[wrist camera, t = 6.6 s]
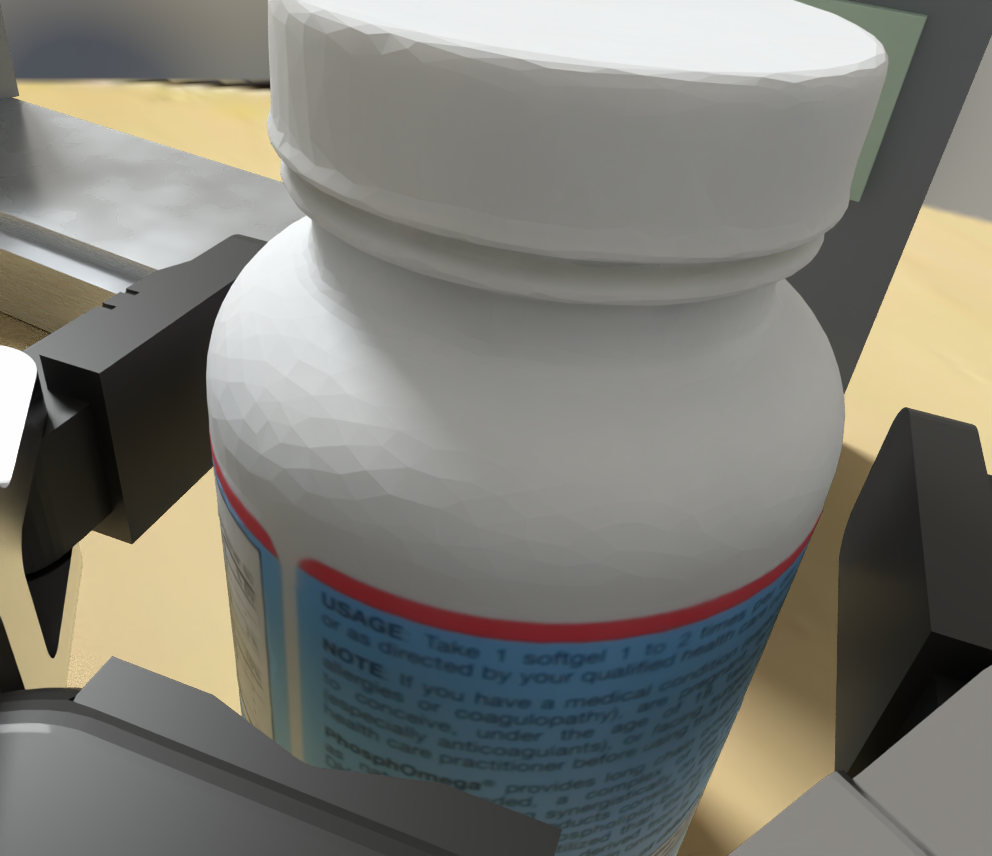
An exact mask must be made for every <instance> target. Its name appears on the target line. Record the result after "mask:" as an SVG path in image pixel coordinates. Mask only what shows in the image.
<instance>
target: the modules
mask: <svg viewBox="0 0 992 856" xmlns="http://www.w3.org/2000/svg"><path fill="white" fill-rule="evenodd" d="M794 1H797V2H800V3H803V4H806V5H809V6H812V7H815V8H818V9H821V10H824V11H827V12H830V13H833V14H835V15H838V16H840V17H842V18H844V19H846V20H848V21H850V22H852V23H854V24H856V25H858V26H859V27H861V28H862V29H864V30H865V31H867V32H869V33H870V34H872V35H873V36H875V37H876V38H877V40H878V41H879V42H880V43H881V44H882V45H883V47H884V49H885V51H886V53H887V55H888V69H887V75H886V78H885V82H884V85H883V88H882V91H881V94H880V97H879V101H878V104H877V107H876V110H875V113H874V116H873V119H872V122H871V125H870V128H869V130H868V133H867V136H866V139H865V141H864V144H863V147H862V150H861V152H860V155H859V158H858V161H857V165H856V168H855V172H854V175H853V179H852V183H851V187H850V199H849V204H848V208H847V210H846V211H845V213H844V215H843V216H842V218H841V219H840V221H839V222H838V223H837V224H836V225H835V226H834V227H833V228H831V229H830V230H828V231H827V232H826V233H825V234H824V241H823V243H822V245H821V247H820V249H819V251H818V253H817V254H816V256H815V257H814V258H813V259H812V261H811V262H809V263H808V264H807V265H806V266H804V267H803V268H802V269H800V270H799V271H797V272H796V273H795V274H793V275H792V276H790V277H787V278H785V279H786V280H787V281H788V283H789V284H790V285H791V286H792V287H793V288H794V289H795V290H796V291H797V292H798V293H799V294H800V295H801V297H802V298H803V299H804V301H805V302H806V303H807V305H808V306H809V307H810V309H811V310H812V312H813V313H814V315H815V317H816V318H817V320H818V322H819V324H820V325H821V327H822V329H823V331H824V332H825V334H826V336H827V338H828V340H829V343H830V345H831V347H832V350H833V353H834V356H835V359H836V362H837V365H838V368H839V372H840V376H841V381H842V387H843V392H844V394H845V391H846V389H847V386H848V384H849V381H850V379H851V377H852V374H853V372H854V369H855V367H856V364H857V362H858V360H859V357H860V355H861V352H862V350H863V347H864V345H865V342H866V340H867V338H868V335H869V333H870V330H871V328H872V325H873V323H874V321H875V318H876V316H877V313H878V311H879V308H880V306H881V304H882V301H883V299H884V296H885V294H886V291H887V289H888V286H889V284H890V282H891V279H892V277H893V274H894V272H895V269H896V267H897V265H898V262H899V260H900V257H901V255H902V252H903V250H904V247H905V245H906V243H907V240H908V238H909V235H910V233H911V230H912V228H913V226H914V223H915V221H916V218H917V216H918V213H919V211H920V208H921V206H922V204H923V201H924V199H925V196H926V194H927V191H928V189H929V186H930V184H931V182H932V179H933V176H934V174H935V172H936V169H937V167H938V165H939V162H940V159H941V157H942V155H943V152H944V150H945V148H946V145H947V143H948V140H949V138H950V135H951V133H952V130H953V128H954V126H955V123H956V121H957V118H958V116H959V113H960V111H961V109H962V106H963V104H964V101H965V99H966V96H967V94H968V92H969V89H970V86H971V84H972V82H973V79H974V77H975V74H976V72H977V70H978V67H979V65H980V62H981V60H982V57H983V55H984V52H985V50H986V48H987V45H988V43H989V40H990V38H991V35H992V0H794ZM16 96H19V93H18V88H17V83H16V79H15V74H14V69H13V64H12V59H11V54H10V50H9V45H8V40H7V36H6V30H5V26H4V21H3V16H2V11H1V6H0V100H2V99H7V98H11V97H16Z"/></svg>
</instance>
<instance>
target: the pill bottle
mask: <svg viewBox="0 0 992 856" xmlns="http://www.w3.org/2000/svg"><path fill="white" fill-rule="evenodd" d="M268 41H269V63H270V86H271V109H270V112H269V116H268V120H267V129H268V135H269V138H270V142H271V144H272V146H273V148H274V149H275V151H276V153H277V154H278V156H279V157H280V158H281V177H282V180H283V183H284V185H285V187H286V189H287V191H288V193H289V195H290V196H291V198H292V199H293V201H294V202H295V204H296V205H297V207H298V208H299V209H300V210H301V211H302V212H303V213H304V214H306V215H307V216H305V217H303V218H301V219H300V220H298V221H296V222H294V223H293V224H291V225H289V226H288V227H287V228H285V229H284V230H283V231H282V232H280V233H279V234H278V235H276V236H275V237H274V238H272V239H271V240H270V241H269V242H268V243H267V244H266V245H265V246H264V247H263V248H262V249H261V250H260V251H259V252H258V253H257V254H256V255H255V256H254V257H253V258H252V259H251V260H250V262H249V263H248V264H247V265H246V266H245V267H244V268H243V270H242V271H241V273H240V274H239V276H238V277H237V279H236V280H235V282H234V283H233V284H232V286H231V288H230V290H229V292H228V293H227V295H226V297H225V299H224V301H223V303H222V305H221V308H220V310H219V312H218V315H217V317H216V320H215V323H214V327H213V330H212V335H211V339H210V344H209V350H208V355H207V370H206V385H207V404H208V414H209V433H210V442H211V450H212V460H213V466H214V475H215V484H216V493H217V501H218V515H219V518H220V526H221V534H222V543H223V552H224V561H225V570H226V578H227V587H228V596H229V606H230V615H231V624H232V633H233V642H234V650H235V658H236V668H237V679H238V685H239V696H240V704H241V713H242V717H243V718H244V719H246V720H247V721H248V722H249V723H251V724H252V725H253V726H255V727H256V728H257V729H259V730H260V731H261V732H263V733H264V734H265V735H267V736H268V737H269V738H271V739H272V740H273V741H275V742H276V743H277V744H279V745H280V746H281V747H283V748H284V749H285V750H287V751H288V752H289V753H291V754H292V755H293V756H295V757H296V758H297V759H299V760H301V761H302V762H304V763H306V764H309V765H311V766H315V767H320V768H328V769H336V770H344V771H351V772H359V773H367V774H375V775H383V776H391V777H399V778H407V779H415V780H423V781H431V782H439V783H443V784H446V785H448V786H451V787H454V788H456V789H459V790H461V791H464V792H467V793H469V794H472V795H474V796H477V797H480V798H482V799H485V800H487V801H490V802H493V803H495V804H498V805H500V806H503V807H506V808H508V809H511V810H513V811H516V812H519V813H521V814H524V815H526V816H529V817H532V818H534V819H537V820H539V821H542V822H545V823H547V824H550V825H552V826H555V827H558V828H560V829H562V831H561V835H560V838H559V842H558V846H557V849H556V853H555V856H676V855H677V853H678V851H679V848H680V846H681V844H682V842H683V840H684V837H685V835H686V832H687V830H688V827H689V825H690V822H691V820H692V818H693V815H694V813H695V811H696V808H697V806H698V804H699V801H700V799H701V797H702V795H703V792H704V790H705V787H706V785H707V783H708V781H709V778H710V776H711V774H712V771H713V769H714V767H715V764H716V762H717V760H718V757H719V755H720V752H721V750H722V748H723V746H724V743H725V741H726V739H727V737H728V734H729V732H730V730H731V727H732V725H733V723H734V720H735V718H736V716H737V713H738V711H739V709H740V707H741V704H742V701H743V698H744V695H745V693H746V691H747V688H748V686H749V683H750V681H751V679H752V676H753V674H754V672H755V669H756V667H757V665H758V662H759V660H760V658H761V655H762V653H763V651H764V648H765V646H766V644H767V641H768V639H769V636H770V634H771V631H772V629H773V626H774V624H775V621H776V619H777V616H778V614H779V612H780V609H781V607H782V605H783V602H784V600H785V598H786V595H787V593H788V591H789V588H790V586H791V584H792V581H793V579H794V577H795V574H796V572H797V569H798V567H799V565H800V562H801V560H802V557H803V555H804V553H805V550H806V548H807V545H808V543H809V541H810V538H811V536H812V534H813V531H814V529H815V527H816V525H817V523H818V521H819V518H820V516H821V514H822V512H823V507H824V503H825V500H826V497H827V495H828V492H829V489H830V487H831V484H832V481H833V478H834V476H835V473H836V470H837V466H838V462H839V458H840V454H841V450H842V442H843V432H844V422H845V404H844V392H843V387H842V381H841V376H840V372H839V368H838V365H837V362H836V359H835V356H834V353H833V350H832V347H831V345H830V343H829V340H828V338H827V336H826V334H825V332H824V331H823V329H822V327H821V325H820V324H819V322H818V320H817V318H816V317H815V315H814V313H813V312H812V310H811V309H810V307H809V306H808V305H807V303H806V302H805V301H804V299H803V298H802V297H801V295H800V294H799V293H798V292H797V291H796V290H795V289H794V288H793V287H792V286H791V285H790V284H789V283H788V281H787V280H786V279H785V278H787V277H790V276H792V275H793V274H795V273H796V272H797V271H799V270H800V269H802V268H803V267H804V266H806V265H807V264H808V263H809V262H811V261H812V259H813V258H814V257H815V256H816V254H817V253H818V251H819V249H820V247H821V245H822V243H823V241H824V234H825V233H826V232H827V231H828V230H830V229H831V228H833V227H834V226H835V225H836V224H837V223H838V222H839V221H840V219H841V218H842V216H843V215H844V213H845V211H846V210H847V208H848V204H849V199H850V187H851V183H852V179H853V175H854V172H855V168H856V165H857V161H858V158H859V155H860V152H861V150H862V147H863V144H864V141H865V139H866V136H867V133H868V130H869V128H870V125H871V122H872V119H873V116H874V113H875V110H876V107H877V104H878V101H879V97H880V94H881V91H882V88H883V85H884V82H885V78H886V75H887V69H888V55H887V53H886V51H885V49H884V47H883V45H882V44H881V43H880V42H879V41H878V40H877V38H876V37H875V36H873V35H872V34H870V33H869V32H867V31H865V30H864V29H862V28H861V27H859V26H858V25H856V24H854V23H852V22H850V21H848V20H846V19H844V18H842V17H840V16H838V15H835V14H833V13H830V12H827V11H824V10H821V9H818V8H815V7H812V6H809V5H806V4H803V3H800V2H797V1H794V0H268Z"/></svg>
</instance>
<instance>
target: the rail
mask: <svg viewBox="0 0 992 856" xmlns="http://www.w3.org/2000/svg"><path fill="white" fill-rule="evenodd" d="M305 216H307V215H306V214H304V213H303V212H302V211H301V210H300V209H299V208H298V207H297V205H296V204H295V202H294V201H293V199H292V198H291V196H290V195H289V193H288V191H287V189H286V187H285V185H284V183H282V182H279V181H276V180H273V179H270V178H266V177H263V176H260V175H257V174H254V173H251V172H247V171H244V170H241V169H238V168H235V167H231V166H228V165H225V164H222V163H219V162H215V161H212V160H209V159H206V158H203V157H200V156H196V155H193V154H190V153H187V152H184V151H180V150H177V149H174V148H171V147H168V146H164V145H161V144H158V143H155V142H152V141H149V140H145V139H142V138H139V137H136V136H133V135H129V134H126V133H123V132H120V131H117V130H114V129H110V128H107V127H104V126H101V125H98V124H94V123H91V122H88V121H85V120H82V119H78V118H75V117H72V116H69V115H66V114H63V113H59V112H56V111H53V110H50V109H47V108H43V107H40V106H37V105H34V104H31V103H27V102H24V101H21V100H18V99H15V98H12V97H11V98H7V99H2V100H0V311H1V312H3V313H6V314H8V315H10V316H13V317H15V318H17V319H20V320H22V321H24V322H27V323H29V324H31V325H34V326H36V327H38V328H41V329H43V330H46V331H48V332H50V333H53V332H55V331H56V330H58V329H60V328H61V327H63V326H65V325H66V324H68V323H69V322H71V321H73V320H74V319H76V318H78V317H79V316H81V315H83V314H84V313H86V312H88V311H89V310H91V309H93V308H94V307H96V306H98V307H102V305H103V302H104V301H106V300H108V299H109V298H111V297H113V296H114V295H116V294H118V293H119V292H123V293H125V292H126V288H127V287H129V286H131V285H132V284H134V283H136V282H137V281H139V280H141V279H142V278H144V277H146V276H147V275H149V274H151V273H152V272H154V271H157V270H160V269H164V268H167V267H170V266H174V265H177V264H181V263H184V262H187V261H191V260H193V259H194V258H196V257H198V256H199V255H201V254H202V253H204V252H206V251H207V250H209V249H210V248H212V247H214V246H215V245H217V244H218V243H220V242H222V241H223V240H225V239H227V238H228V237H230V236H232V235H235V234H240V235H244V236H248V237H252V238H256V239H260V240H264V241H268V242H269V241H270V240H271V239H272V238H274V237H275V236H276V235H278V234H279V233H280V232H282V231H283V230H284V229H285V228H287V227H288V226H289V225H291V224H293V223H294V222H296V221H298V220H300V219H301V218H303V217H305Z"/></svg>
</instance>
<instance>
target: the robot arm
mask: <svg viewBox="0 0 992 856" xmlns="http://www.w3.org/2000/svg"><path fill="white" fill-rule="evenodd" d="M267 243H268V241H264V240H260V239H256V238H252V237H248V236H244V235H240V234H235V235H232V236H230V237H228V238H227V239H225V240H223V241H222V242H220V243H218V244H217V245H215V246H214V247H212V248H210V249H209V250H207V251H206V252H204V253H202V254H201V255H199V256H198V257H196V258H194V259H193V260H191V261H187V262H184V263H181V264H177V265H174V266H170V267H167V268H164V269H160V270H157V271H154V272H152V273H151V274H149V275H147V276H146V277H144V278H142V279H141V280H139V281H137V282H136V283H134V284H132V285H131V286H129V287H127V288H126V292H125V293H123V292H119V293H118V294H116V295H114V296H113V297H111V298H109V299H108V300H106V301H104V302H103V305H102V307H98V306H96V307H94V308H93V309H91V310H89V311H88V312H86V313H84V314H83V315H81V316H79V317H78V318H76V319H74V320H73V321H71V322H69V323H68V324H66V325H65V326H63V327H61V328H60V329H58V330H56V331H55V332H53V333H51V334H50V335H48V336H46V337H45V338H43V339H41V340H40V341H38V342H36V343H35V344H33V345H31V346H30V347H28V348H26V349H25V350H23V351H20V350H17V349H14V348H11V347H7V346H1V345H0V856H555V853H556V849H557V846H558V842H559V838H560V835H561V831H562V829H560V828H558V827H555V826H552V825H550V824H547V823H545V822H542V821H539V820H537V819H534V818H532V817H529V816H526V815H524V814H521V813H519V812H516V811H513V810H511V809H508V808H506V807H503V806H500V805H498V804H495V803H493V802H490V801H487V800H485V799H482V798H480V797H477V796H474V795H472V794H469V793H467V792H464V791H461V790H459V789H456V788H454V787H451V786H448V785H446V784H443V783H439V782H431V781H423V780H415V779H407V778H399V777H391V776H383V775H375V774H367V773H359V772H351V771H344V770H336V769H328V768H320V767H315V766H311V765H309V764H306V763H304V762H302V761H301V760H299V759H297V758H296V757H295V756H293V755H292V754H291V753H289V752H288V751H287V750H285V749H284V748H283V747H281V746H280V745H279V744H277V743H276V742H275V741H273V740H272V739H271V738H269V737H268V736H267V735H265V734H264V733H263V732H261V731H260V730H259V729H257V728H256V727H255V726H253V725H252V724H251V723H249V722H248V721H247V720H246V719H244V718H243V717H242V716H240V715H239V714H238V713H236V712H235V711H234V710H232V709H231V708H230V707H228V706H227V705H226V704H224V703H223V702H222V701H220V700H219V699H218V698H216V697H215V696H214V695H212V694H209V693H207V692H204V691H201V690H199V689H196V688H194V687H191V686H188V685H186V684H183V683H181V682H178V681H175V680H173V679H170V678H168V677H165V676H162V675H160V674H157V673H155V672H152V671H149V670H147V669H144V668H142V667H139V666H136V665H134V664H131V663H129V662H126V661H123V660H121V659H118V658H116V657H113V656H112V657H111V658H110V659H109V660H108V661H107V662H106V664H105V665H104V666H103V667H102V668H101V669H100V670H99V671H98V672H97V673H96V674H95V675H94V677H93V678H92V679H91V680H90V681H89V682H88V683H87V684H86V685H85V686H84V687H83V688H67V676H68V669H69V661H70V654H71V646H72V639H73V631H74V624H75V616H76V609H77V601H78V593H79V586H80V578H81V571H82V555H81V551H80V547H79V541H80V540H81V539H83V538H84V537H85V536H86V535H87V534H88V533H89V532H90V531H92V530H93V531H96V532H98V533H101V534H104V535H107V536H110V537H113V538H115V539H118V540H121V541H124V542H127V543H130V544H133V543H134V542H135V541H136V540H137V539H138V538H139V537H140V536H141V535H142V534H143V533H144V532H145V531H146V530H148V529H149V528H150V527H151V526H152V525H153V524H154V523H155V522H156V521H157V520H158V519H159V518H160V517H161V516H162V515H163V514H164V513H165V512H166V511H167V510H168V509H169V508H170V507H171V506H172V505H173V504H175V503H176V502H177V501H178V500H179V499H180V498H181V497H182V496H183V495H184V494H185V493H186V492H187V491H188V490H189V489H190V488H191V487H192V486H193V485H194V484H195V483H196V482H197V481H198V480H199V479H200V478H202V477H203V476H204V475H205V474H206V473H207V472H208V471H209V470H210V469H211V468H212V467H213V460H212V450H211V442H210V433H209V414H208V404H207V385H206V370H207V355H208V350H209V344H210V339H211V335H212V330H213V327H214V323H215V320H216V317H217V315H218V312H219V310H220V308H221V305H222V303H223V301H224V299H225V297H226V295H227V293H228V292H229V290H230V288H231V286H232V284H233V283H234V282H235V280H236V279H237V277H238V276H239V274H240V273H241V271H242V270H243V268H244V267H245V266H246V265H247V264H248V263H249V262H250V260H251V259H252V258H253V257H254V256H255V255H256V254H257V253H258V252H259V251H260V250H261V249H262V248H263V247H264V246H265V245H266V244H267ZM728 856H992V475H988V474H987V471H986V466H985V461H984V457H983V452H982V447H981V443H980V438H979V434H978V430H977V428H976V426H975V425H973V424H969V423H965V422H961V421H957V420H953V419H949V418H945V417H942V416H938V415H934V414H930V413H926V412H922V411H918V410H914V409H911V408H907V407H905V408H903V409H902V410H901V411H900V412H899V413H898V415H897V416H896V418H895V419H894V421H893V423H892V425H891V427H890V429H889V432H888V434H887V436H886V438H885V440H884V442H883V445H882V447H881V449H880V451H879V453H878V455H877V458H876V460H875V462H874V464H873V466H872V468H871V471H870V473H869V475H868V477H867V479H866V482H865V484H864V486H863V488H862V490H861V492H860V495H859V497H858V499H857V501H856V503H855V505H854V508H853V510H852V512H851V515H850V517H849V520H848V523H847V526H846V529H845V533H844V536H843V540H842V545H841V550H840V557H839V584H838V635H837V685H836V736H835V772H834V773H832V774H830V775H828V776H827V777H825V778H824V779H822V780H821V781H820V782H818V783H817V784H816V785H814V786H813V787H812V788H811V789H809V790H808V791H807V792H806V793H804V794H803V795H802V796H801V797H800V798H798V799H797V800H796V801H795V802H793V803H792V804H791V805H790V806H788V807H787V808H786V809H785V810H783V811H782V812H781V813H780V814H779V815H777V816H776V817H775V818H774V819H772V820H771V821H770V822H769V823H767V824H766V825H765V826H764V827H763V828H761V829H760V830H759V831H758V832H756V833H755V834H754V835H753V836H751V837H750V838H749V839H748V840H746V841H745V842H744V843H743V844H742V845H740V846H739V847H738V848H737V849H735V850H734V851H733V852H732V853H730V854H729V855H728Z"/></svg>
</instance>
